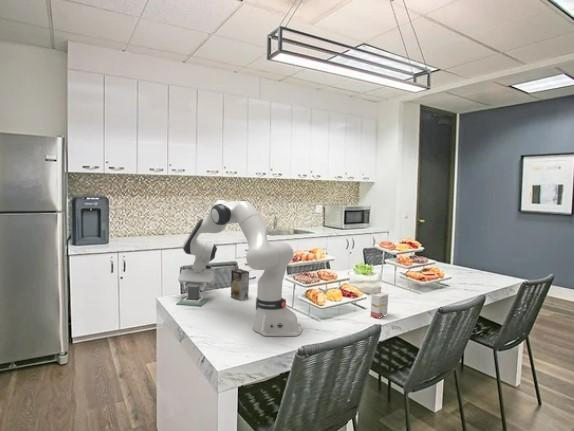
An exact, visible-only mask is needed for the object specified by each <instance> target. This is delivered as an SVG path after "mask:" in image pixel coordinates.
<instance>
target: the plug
mask: <svg viewBox="0 0 574 431" xmlns="http://www.w3.org/2000/svg"><path fill="white" fill-rule="evenodd" d="M187 288H188V289H187V296H188V300H199V297H200V289H201V285H195V284H188V286H187Z"/></svg>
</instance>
